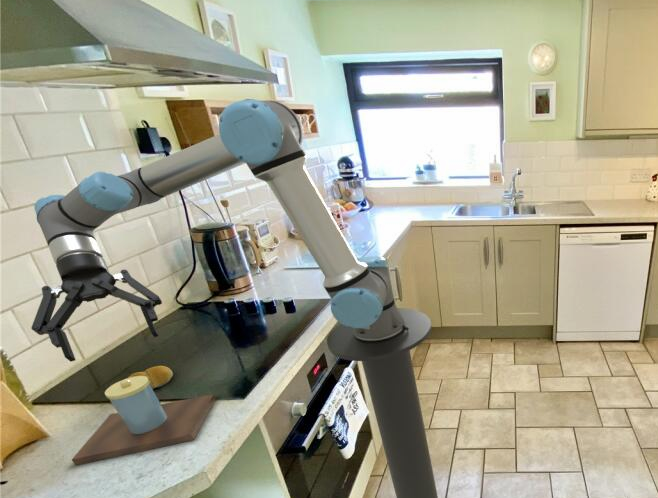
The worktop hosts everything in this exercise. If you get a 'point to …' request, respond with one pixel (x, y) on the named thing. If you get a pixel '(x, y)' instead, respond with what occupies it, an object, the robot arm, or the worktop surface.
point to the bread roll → (156, 375)
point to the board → (119, 440)
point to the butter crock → (137, 404)
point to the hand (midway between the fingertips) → (114, 346)
